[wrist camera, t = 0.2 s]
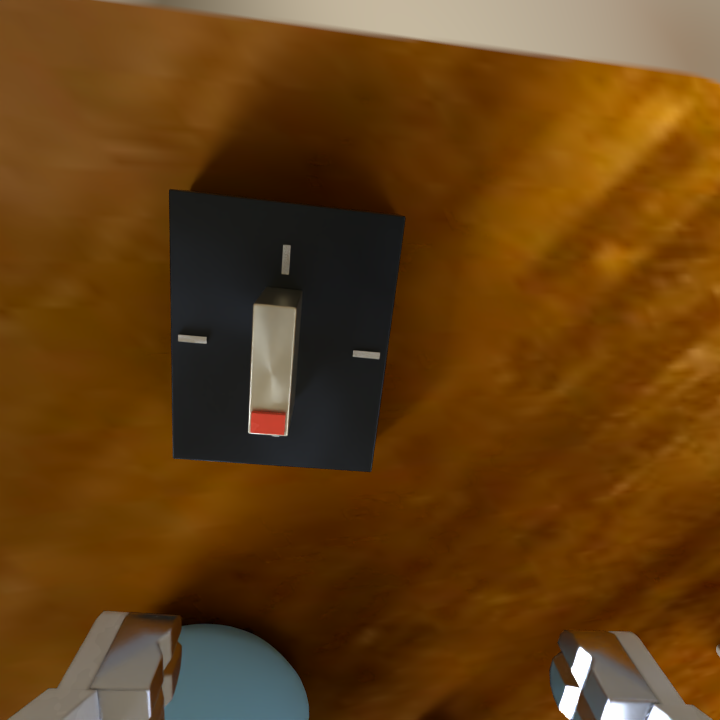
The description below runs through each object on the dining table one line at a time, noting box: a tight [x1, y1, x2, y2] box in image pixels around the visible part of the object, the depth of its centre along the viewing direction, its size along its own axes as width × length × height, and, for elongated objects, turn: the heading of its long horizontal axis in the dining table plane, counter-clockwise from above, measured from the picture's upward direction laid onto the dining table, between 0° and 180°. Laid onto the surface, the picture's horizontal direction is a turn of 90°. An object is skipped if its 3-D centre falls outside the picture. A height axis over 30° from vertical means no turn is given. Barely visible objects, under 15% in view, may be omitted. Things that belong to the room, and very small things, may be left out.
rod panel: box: [169, 189, 405, 472], centre depth 26 cm, size 14×11×3 cm
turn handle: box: [248, 287, 303, 436], centre depth 22 cm, size 6×2×4 cm, turn 174°
